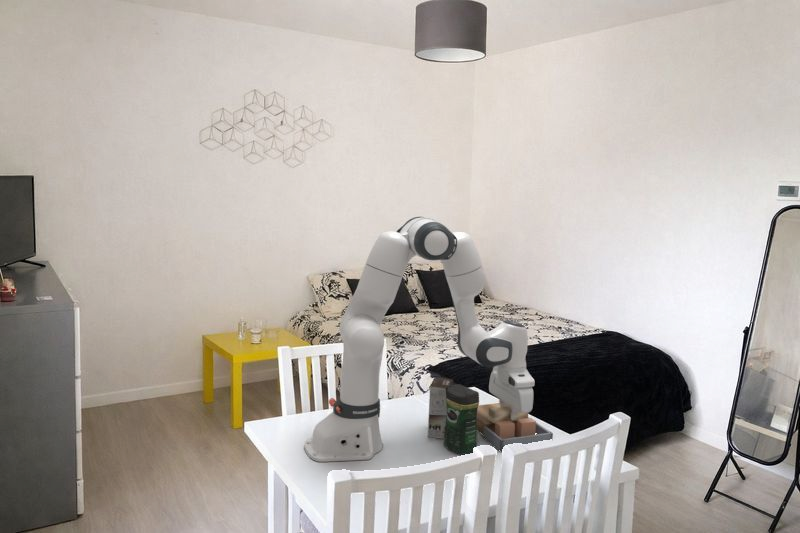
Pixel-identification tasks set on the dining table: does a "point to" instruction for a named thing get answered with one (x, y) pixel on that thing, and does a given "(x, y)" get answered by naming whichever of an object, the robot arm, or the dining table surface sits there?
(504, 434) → the tile
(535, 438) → the tray
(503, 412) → the beige wooden block
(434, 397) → the coffee box
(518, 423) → the tile
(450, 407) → the coffee jar
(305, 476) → the dining table surface
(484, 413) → the board
